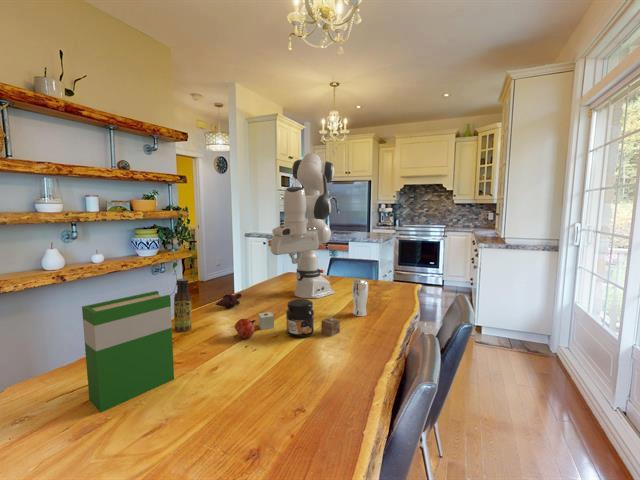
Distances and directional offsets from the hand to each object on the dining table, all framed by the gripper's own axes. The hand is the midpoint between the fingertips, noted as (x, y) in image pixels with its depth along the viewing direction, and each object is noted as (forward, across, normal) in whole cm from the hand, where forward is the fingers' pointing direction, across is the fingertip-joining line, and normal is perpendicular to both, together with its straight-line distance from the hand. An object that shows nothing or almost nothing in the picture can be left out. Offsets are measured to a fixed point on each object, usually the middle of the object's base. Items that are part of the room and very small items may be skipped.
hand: (296, 263), depth 125 cm
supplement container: (+25, +4, +9) cm, 27 cm away
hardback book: (+23, +59, +16) cm, 65 cm away
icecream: (+26, +17, -34) cm, 46 cm away
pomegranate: (+25, +23, +1) cm, 34 cm away
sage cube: (+25, +12, -4) cm, 28 cm away
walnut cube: (+25, -6, +15) cm, 30 cm away
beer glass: (+26, -29, +6) cm, 40 cm away
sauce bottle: (+25, +40, -19) cm, 51 cm away
